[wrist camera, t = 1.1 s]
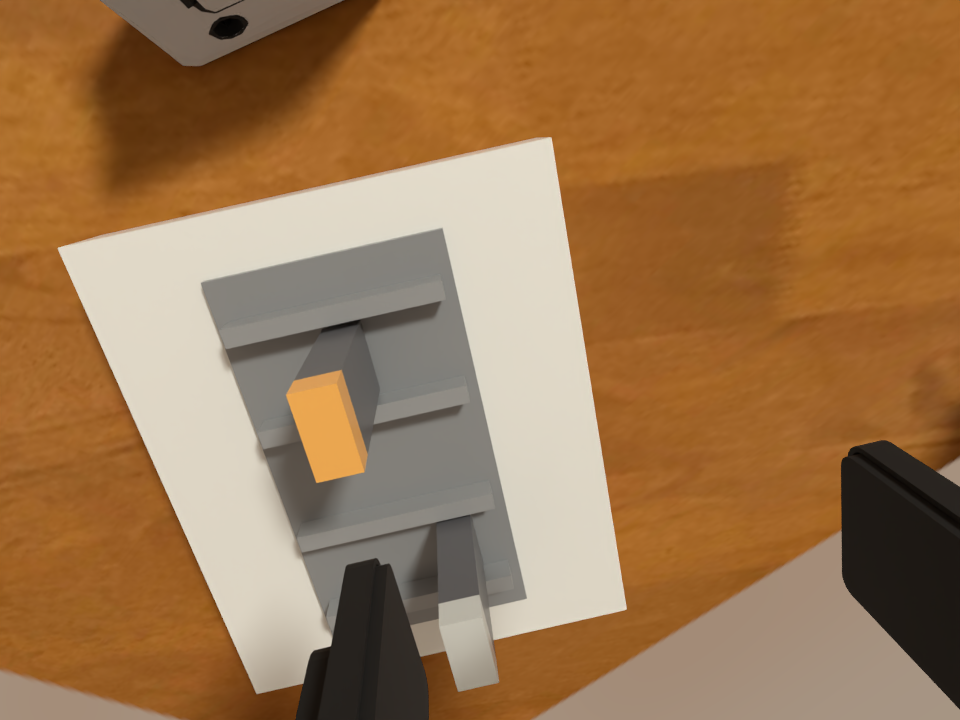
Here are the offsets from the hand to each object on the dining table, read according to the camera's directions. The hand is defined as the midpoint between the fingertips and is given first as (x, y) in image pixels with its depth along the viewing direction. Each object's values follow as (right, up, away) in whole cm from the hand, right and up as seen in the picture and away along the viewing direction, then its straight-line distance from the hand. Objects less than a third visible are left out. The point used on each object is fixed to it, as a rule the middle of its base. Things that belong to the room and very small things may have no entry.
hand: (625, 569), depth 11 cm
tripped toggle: (-8, +4, +15) cm, 18 cm away
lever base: (-7, +1, +21) cm, 22 cm away
